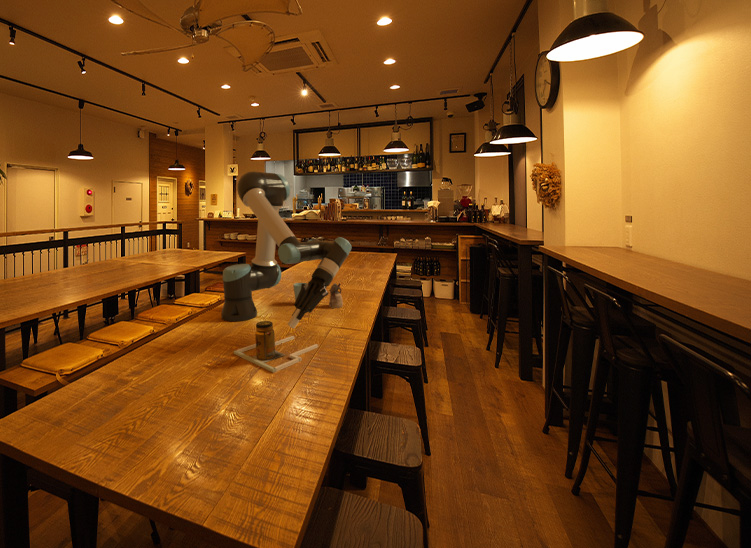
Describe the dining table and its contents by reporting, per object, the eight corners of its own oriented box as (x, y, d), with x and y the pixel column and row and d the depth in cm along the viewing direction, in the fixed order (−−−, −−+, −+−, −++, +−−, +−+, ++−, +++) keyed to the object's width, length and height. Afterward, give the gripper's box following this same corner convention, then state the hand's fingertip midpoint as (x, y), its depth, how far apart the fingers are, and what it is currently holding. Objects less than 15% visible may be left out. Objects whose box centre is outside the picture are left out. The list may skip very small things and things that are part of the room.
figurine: (329, 304, 181) (328, 281, 179) (343, 304, 181) (342, 281, 179) (328, 308, 174) (328, 284, 172) (342, 308, 174) (342, 284, 172)
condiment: (251, 357, 117) (249, 322, 115) (273, 349, 124) (272, 317, 121) (263, 363, 113) (261, 328, 110) (285, 355, 119) (284, 321, 117)
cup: (310, 304, 180) (310, 285, 178) (295, 306, 177) (294, 286, 175) (307, 301, 187) (306, 282, 185) (292, 302, 184) (291, 283, 182)
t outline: (233, 353, 120) (233, 351, 119) (286, 335, 137) (286, 333, 137) (273, 372, 106) (273, 369, 106) (325, 350, 123) (325, 347, 123)
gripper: (342, 281, 131) (309, 335, 122) (318, 276, 139) (285, 327, 130) (332, 269, 126) (296, 325, 117) (308, 264, 134) (272, 317, 125)
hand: (290, 326), depth 123 cm, fingers closed
